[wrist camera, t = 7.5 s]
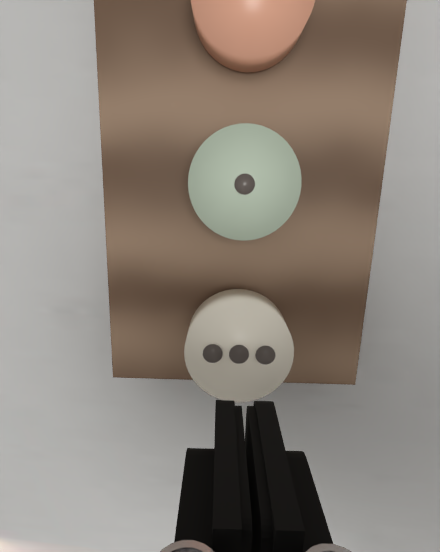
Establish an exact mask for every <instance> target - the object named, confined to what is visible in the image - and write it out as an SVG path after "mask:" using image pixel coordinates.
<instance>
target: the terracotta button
mask: <svg viewBox="0 0 440 552" xmlns="http://www.w3.org/2000/svg"><path fill="white" fill-rule="evenodd" d="M314 3H315V0H191V5H192V11H193V17H194V22H195V27H196V30H197V34H198V36H199V38H200V41H201V42H202V44H203V46H204V48H205V49H206V50H207V52H208V53H209V54H210V55H211V56H212V57H213V58H214V59H215V60H216V61H217V62H219V63H220V64H222V65H223V66H225V67H227V68H229V69H232V70H235V71H239V72H258V71H262V70H265V69H268V68H270V67H272V66H274V65H276V64H277V63H278V62H280V61H281V60H282V59H283V58H285V57H286V56H287V55H288V53H289V52H290V51H291V50H292V49H293V47H294V46H295V44H296V42H297V41H298V39H299V37H300V35H301V33H302V31H303V29H304V27H305V25H306V23H307V21H308V19H309V17H310V15H311V12H312V9H313V7H314Z"/></svg>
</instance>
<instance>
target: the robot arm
mask: <svg viewBox="0 0 440 552" xmlns="http://www.w3.org/2000/svg"><path fill="white" fill-rule="evenodd" d="M160 552H351V551H349V550H348V549H346V548H344V547H341V546H338V545H335V544H333V542H332V539H331V535H330V532H329V529H328V526H327V523H326V519H325V516H324V513H323V510H322V507H321V503H320V500H319V497H318V494H317V491H316V487H315V484H314V481H313V478H312V475H311V471H310V468H309V465H308V462H307V459H306V456H305V454H304V452H303V451H285V447H284V443H283V439H282V435H281V431H280V426H279V422H278V418H277V414H276V410H275V406H274V402H271V401H254V406H247V413H246V431H245V438H244V427H243V416H242V406H235V403H234V400H216V413H215V448H214V449H198V448H187V451H186V458H185V466H184V473H183V481H182V488H181V496H180V504H179V511H178V519H177V526H176V534H175V541H174V543H172V544H170V545H168V546H167V547H165V548H164V549H162V550H161V551H160Z"/></svg>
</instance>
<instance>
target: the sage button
mask: <svg viewBox="0 0 440 552" xmlns="http://www.w3.org/2000/svg"><path fill="white" fill-rule="evenodd" d="M301 179H302V178H301V170H300V166H299V162H298V159H297V157H296V155H295V153H294V151H293V149H292V148H291V146H290V145H289V144H288V142H287V141H286V140H285V139H284V138H283V137H281V136H280V135H279V134H278V133H276V132H275V131H273V130H271V129H269V128H267V127H264V126H261V125H257V124H250V123H240V124H234V125H230V126H227V127H224V128H222V129H220V130H218V131H217V132H215V133H214V134H212V135H211V136H210V137H209V138H207V139H206V140H205V141H204V142H203V144H202V145H201V146H200V147H199V149H198V150H197V152H196V154H195V156H194V158H193V160H192V163H191V166H190V170H189V175H188V191H189V196H190V200H191V203H192V206H193V208H194V210H195V212H196V214H197V215H198V217H199V218H200V219H201V221H202V222H203V223H204V224H205V225H206V226H207V227H208V228H209V229H211V230H212V231H214V232H215V233H217V234H219V235H221V236H223V237H226V238H229V239H233V240H241V241H244V240H254V239H258V238H262V237H265V236H267V235H269V234H271V233H272V232H274V231H276V230H277V229H278V228H280V227H281V226H282V225H283V224H284V223H285V222H286V221H287V220H288V218H289V217H290V216H291V214H292V213H293V211H294V209H295V207H296V205H297V203H298V200H299V196H300V192H301Z"/></svg>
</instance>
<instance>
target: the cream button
mask: <svg viewBox="0 0 440 552" xmlns="http://www.w3.org/2000/svg"><path fill="white" fill-rule="evenodd" d="M184 357H185V363H186V367H187V369H188V372H189V374H190V376H191V377H192V379H193V380H194V382H195V383H196V384H197V385H198V386H199V387H200V388H201V389H202V390H204V391H205V392H206V393H208V394H209V395H211V396H213V397H215V398H218V399H221V400H234V402H248V401H253V400H257V399H260V398H262V397H264V396H266V395H268V394H270V393H271V392H273V391H274V390H275V389H277V388H278V387H279V386H280V385H281V384H282V382H283V381H284V380H285V378H286V377H287V375H288V374H289V371H290V369H291V366H292V363H293V358H294V345H293V340H292V337H291V334H290V332H289V330H288V327H287V325H286V323H285V321H284V319H283V316H282V314H281V313H280V311H279V309H278V308H277V307H276V306H275V304H274V303H272V302H271V301H270V300H269V299H268V298H266V297H265V296H263V295H261V294H259V293H257V292H254V291H250V290H245V289H231V290H225V291H222V292H219V293H217V294H214V295H213V296H211V297H209V298H208V299H207V300H205V301H204V302H203V303H202V304H201V305H200V306H199V307H198V309H197V310H196V311H195V313H194V315H193V317H192V319H191V322H190V325H189V330H188V334H187V338H186V342H185V348H184Z"/></svg>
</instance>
